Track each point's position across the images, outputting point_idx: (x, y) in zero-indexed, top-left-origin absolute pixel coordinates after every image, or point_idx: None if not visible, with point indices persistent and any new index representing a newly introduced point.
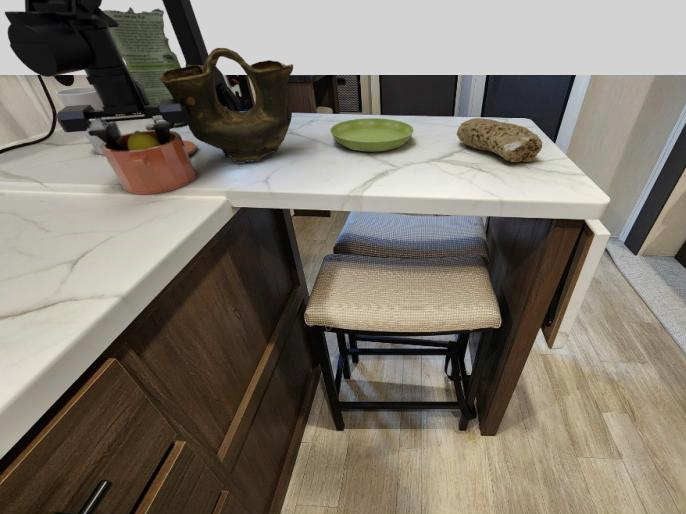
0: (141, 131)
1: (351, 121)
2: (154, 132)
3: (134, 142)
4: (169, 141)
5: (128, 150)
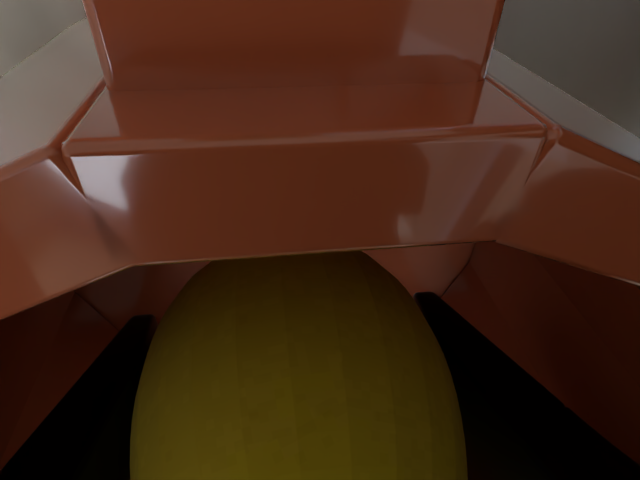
0: (155, 197)
1: None
2: (507, 228)
3: None
4: (573, 418)
5: (116, 455)
